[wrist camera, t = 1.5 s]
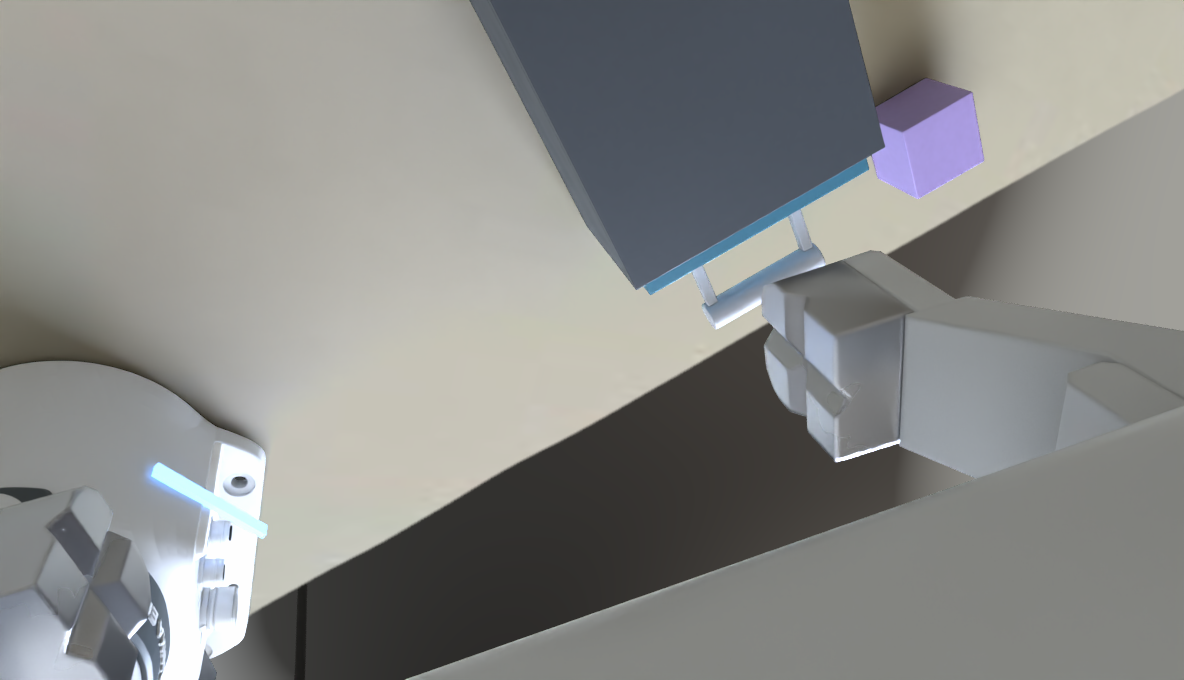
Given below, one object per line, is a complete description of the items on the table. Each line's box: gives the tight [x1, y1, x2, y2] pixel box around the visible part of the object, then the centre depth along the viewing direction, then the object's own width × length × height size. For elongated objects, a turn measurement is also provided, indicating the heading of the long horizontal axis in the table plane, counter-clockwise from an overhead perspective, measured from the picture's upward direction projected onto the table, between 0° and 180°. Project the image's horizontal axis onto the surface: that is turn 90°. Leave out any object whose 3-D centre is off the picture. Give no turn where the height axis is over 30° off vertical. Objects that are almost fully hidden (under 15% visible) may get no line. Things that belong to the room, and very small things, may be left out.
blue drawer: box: [644, 159, 869, 329], centre depth 40 cm, size 19×12×7 cm, turn 26°
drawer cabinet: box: [470, 0, 885, 290], centre depth 37 cm, size 15×14×9 cm
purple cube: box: [872, 78, 984, 199], centre depth 46 cm, size 4×4×4 cm
